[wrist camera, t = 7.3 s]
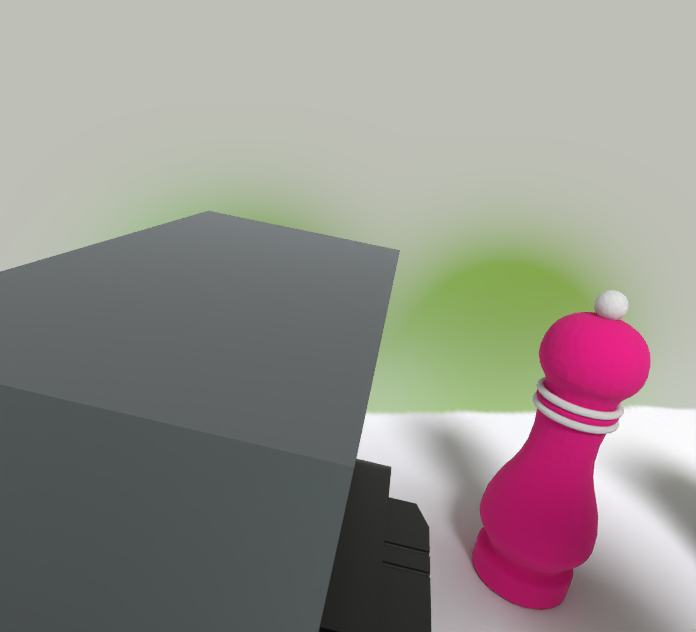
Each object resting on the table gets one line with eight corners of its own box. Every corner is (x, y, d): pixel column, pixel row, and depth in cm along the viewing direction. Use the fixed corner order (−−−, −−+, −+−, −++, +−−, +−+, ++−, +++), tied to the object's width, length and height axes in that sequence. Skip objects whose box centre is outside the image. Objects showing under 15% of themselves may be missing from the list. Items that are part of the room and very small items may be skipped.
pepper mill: (580, 570, 39) (686, 300, 33) (562, 638, 33) (687, 322, 27) (482, 521, 42) (563, 267, 36) (449, 575, 36) (539, 280, 30)
